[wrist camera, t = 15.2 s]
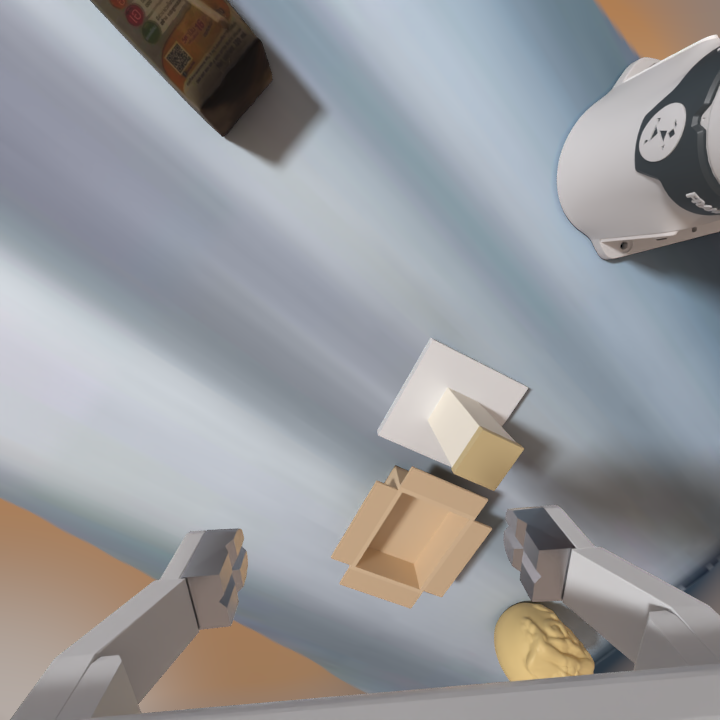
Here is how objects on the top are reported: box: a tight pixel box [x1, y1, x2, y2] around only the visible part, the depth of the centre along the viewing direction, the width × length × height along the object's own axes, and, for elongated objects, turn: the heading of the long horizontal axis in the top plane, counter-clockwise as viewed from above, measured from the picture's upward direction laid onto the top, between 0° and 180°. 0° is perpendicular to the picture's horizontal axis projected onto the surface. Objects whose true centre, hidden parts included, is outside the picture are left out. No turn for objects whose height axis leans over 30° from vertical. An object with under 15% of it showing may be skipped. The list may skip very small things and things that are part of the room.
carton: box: [331, 465, 492, 608], centre depth 46 cm, size 17×20×4 cm
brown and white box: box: [428, 388, 524, 491], centre depth 37 cm, size 5×5×11 cm
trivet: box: [377, 338, 528, 467], centre depth 43 cm, size 14×14×1 cm
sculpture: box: [494, 603, 594, 681], centre depth 50 cm, size 12×12×11 cm
